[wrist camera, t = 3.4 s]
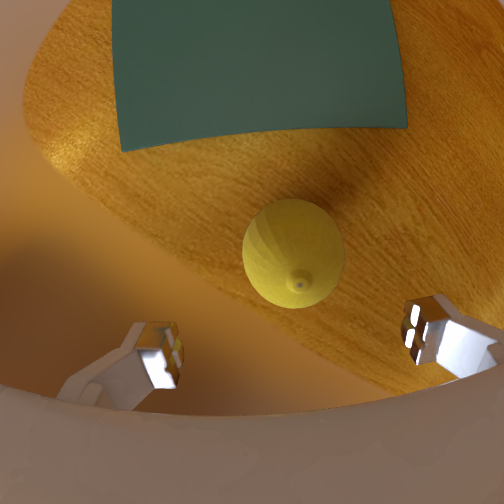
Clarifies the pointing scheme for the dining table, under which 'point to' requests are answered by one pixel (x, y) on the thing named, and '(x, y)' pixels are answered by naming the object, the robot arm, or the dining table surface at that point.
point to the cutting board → (253, 67)
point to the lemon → (293, 253)
